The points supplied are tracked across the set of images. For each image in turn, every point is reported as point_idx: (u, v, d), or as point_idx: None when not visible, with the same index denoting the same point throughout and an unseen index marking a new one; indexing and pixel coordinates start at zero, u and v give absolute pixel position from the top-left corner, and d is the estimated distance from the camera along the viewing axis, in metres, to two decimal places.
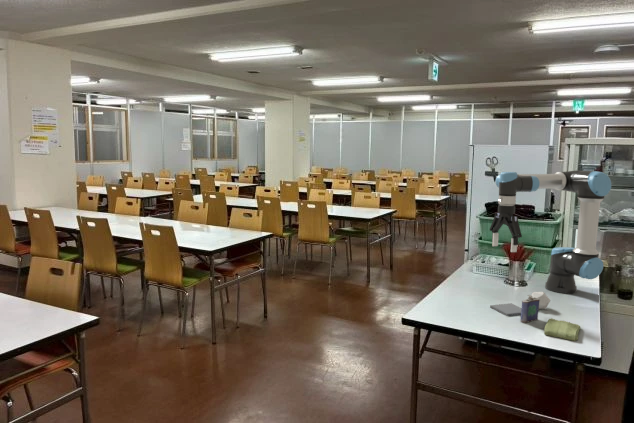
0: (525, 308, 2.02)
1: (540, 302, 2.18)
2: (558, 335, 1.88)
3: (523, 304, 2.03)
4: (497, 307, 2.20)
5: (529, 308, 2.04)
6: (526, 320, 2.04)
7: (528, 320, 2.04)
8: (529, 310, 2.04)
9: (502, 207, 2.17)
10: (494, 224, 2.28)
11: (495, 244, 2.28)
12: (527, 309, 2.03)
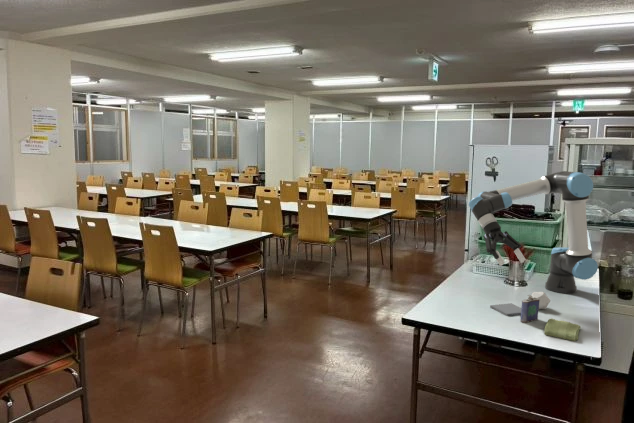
0: (525, 308, 2.02)
1: (540, 302, 2.18)
2: (558, 335, 1.87)
3: (523, 304, 2.03)
4: (497, 307, 2.20)
5: (529, 308, 2.04)
6: (526, 320, 2.04)
7: (528, 320, 2.04)
8: (529, 310, 2.04)
9: None
10: None
11: (521, 260, 2.16)
12: (527, 309, 2.03)
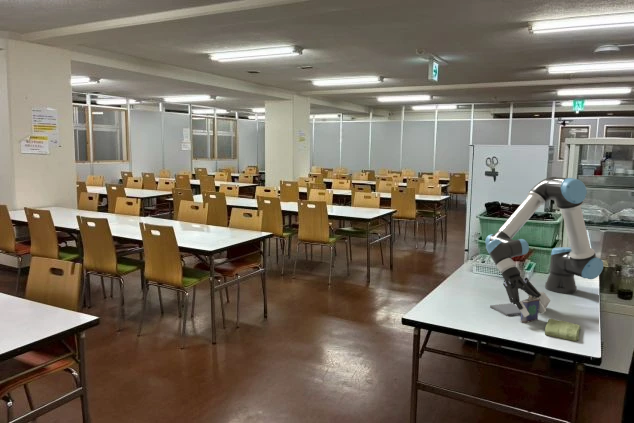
0: None
1: None
2: (559, 335, 1.87)
3: None
4: (497, 307, 2.20)
5: (529, 308, 2.04)
6: (526, 320, 2.04)
7: (528, 320, 2.04)
8: (529, 310, 2.04)
9: None
10: None
11: (541, 310, 2.06)
12: (527, 309, 2.03)
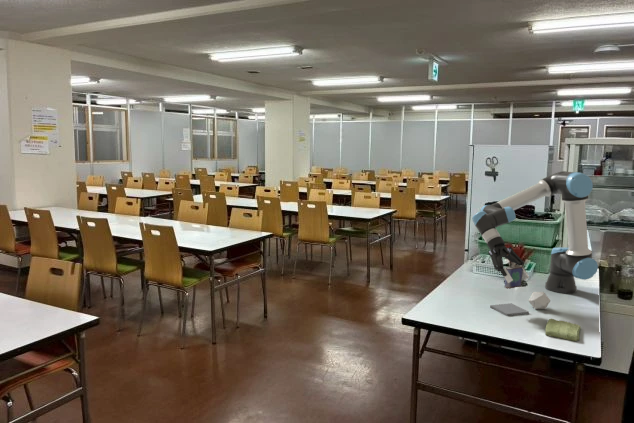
0: None
1: (540, 302, 2.18)
2: (559, 335, 1.87)
3: None
4: (497, 307, 2.20)
5: (513, 275, 2.14)
6: (510, 286, 2.14)
7: (512, 286, 2.14)
8: (512, 276, 2.14)
9: None
10: None
11: (524, 277, 2.16)
12: (511, 275, 2.13)
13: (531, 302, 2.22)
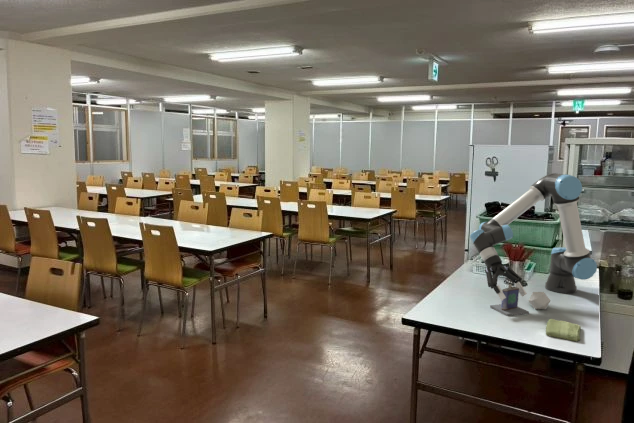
0: (505, 296, 2.15)
1: (540, 302, 2.18)
2: (560, 336, 1.87)
3: None
4: (497, 307, 2.20)
5: (509, 297, 2.16)
6: (507, 308, 2.16)
7: (508, 308, 2.17)
8: (509, 298, 2.16)
9: None
10: None
11: (522, 293, 2.19)
12: (507, 297, 2.15)
13: (531, 302, 2.22)
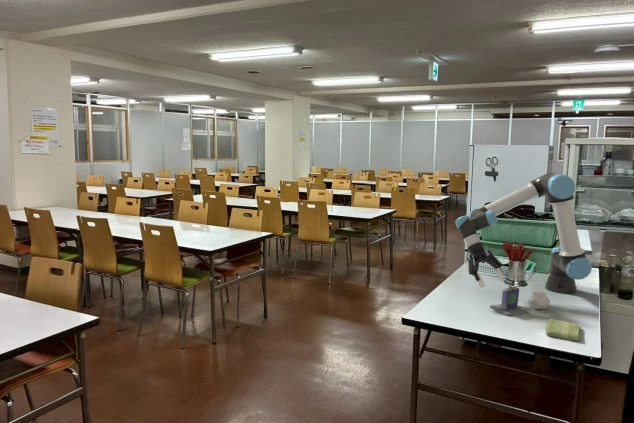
0: (505, 297, 2.15)
1: (540, 302, 2.18)
2: (561, 336, 1.87)
3: (503, 293, 2.15)
4: (497, 307, 2.20)
5: (509, 297, 2.16)
6: (507, 308, 2.16)
7: (508, 308, 2.17)
8: (509, 298, 2.16)
9: None
10: None
11: (501, 279, 2.31)
12: (507, 297, 2.15)
13: (531, 302, 2.22)
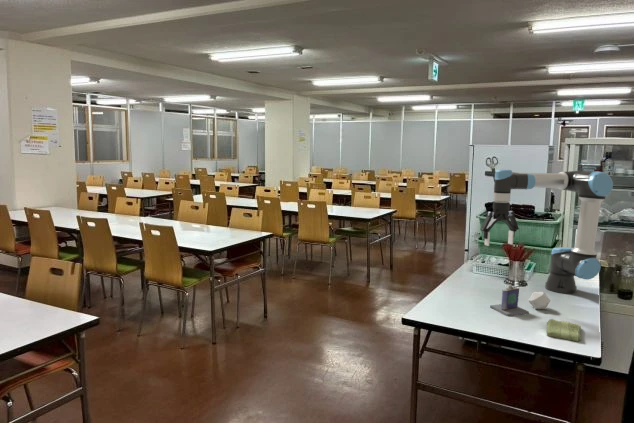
0: (505, 297, 2.15)
1: (540, 302, 2.18)
2: (561, 336, 1.87)
3: (503, 293, 2.15)
4: (497, 307, 2.20)
5: (509, 297, 2.16)
6: (507, 308, 2.16)
7: (508, 308, 2.17)
8: (509, 298, 2.16)
9: None
10: (512, 222, 2.29)
11: (509, 242, 2.29)
12: (507, 297, 2.15)
13: (531, 302, 2.22)
